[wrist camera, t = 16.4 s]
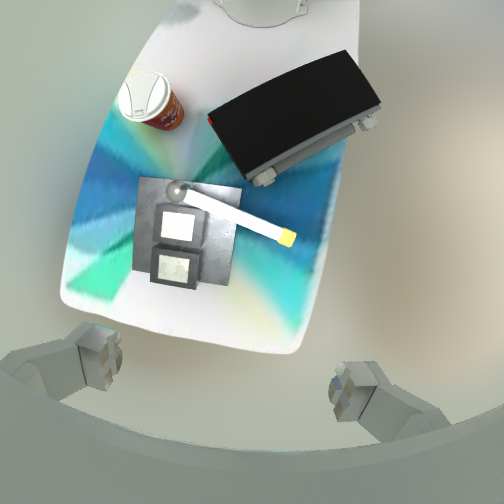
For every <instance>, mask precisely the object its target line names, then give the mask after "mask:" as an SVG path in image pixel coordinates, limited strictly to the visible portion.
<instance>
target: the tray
mask: <svg viewBox="0 0 504 504" xmlns="http://www.w3.org/2000/svg"><path fill="white" fill-rule="evenodd" d="M171 181H174V180H171V179H161V178H151V177H140V178H139V186H138V194H137V203H136V214H135V226H134V241H133V264H132V270H136V271H141V272H147V273H150V282H154V283H159V284H165V285H170V286H176V287H182V288H187V289H193V290H196V288H197V286H198V284H199V282H205V283H212V284H218V285H224V286H228V280H229V273H230V266H231V259H232V252H233V245H234V238H235V232H236V225H237V223H235V222H233V221H230V220H228V219H225V218H223V217H221V216H218V215H216V214H213V213H211V212H208V211H206V210H204V209H201V208H199V207H196V206H194V205H191V204H189V203H186V202H184V201H182V202H179V203H173V202H171V201H169V200H168V199H167V197H166V195H165V189H166V186H167V185H168V184H169V183H170V182H171ZM184 182H186V183H187V184H188V185H189V187H190V189H191V190H194V191H196V192H199V193H201V194H204V195H206V196H209V197H211V198H214V199H216V200H219V201H221V202H223V203H226V204H228V205H231V206H233V207H235V208H238V209H239V206H240V199H241V193H242V189H241V188H234V187H227V186H220V185H212V184H205V183H197V182H188V181H184Z"/></svg>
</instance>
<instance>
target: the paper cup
mask: <svg viewBox="0 0 504 504" xmlns="http://www.w3.org/2000/svg"><path fill="white" fill-rule="evenodd" d="M118 102H119V108H120V111H121V113H122V114H123V115H124V116H125V117H126V118H127V119H129V120H131V121H135V122H142V123H145V124H147V125H150V126H153V127H155V128H158V129H161V130H172V129H174V128H176V127H177V126H178V125H179V124H180V123H181V122H182V119H183V109H182V107H181V105H180V103H179V101H178V100H177V98H176V96H175V95H174V93H173V92H172V90H171V87H170V83H169V81H168V79H167V78H166V77H165V76H164V75H163V74H161V73H159V72H155V71H151V70H147V71H142V72H139V73H137V74H135V75H133V76H132V77H131V78H129V79H128V80H127V81H126V82H125V83H124V84H123V86H122V88H121V90H120V92H119V97H118Z"/></svg>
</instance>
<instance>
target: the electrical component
mask: <svg viewBox="0 0 504 504" xmlns="http://www.w3.org/2000/svg"><path fill="white" fill-rule="evenodd" d="M379 103H381V102H380V100H379V98H378V97H377V95H376V93H375V92H374V90H373V89H372V87H371V85H370V84H369V82H368V81H367V79H366V78H365V76H364V75H363V73H362V72H361V70H360V69H359V67H358V66H357V65H356V63H355V62H354V60H353V59H352V58H351V56H350V55H349V54H348V52H347V51H346V50H343V51H340V52H337V53H334V54H331V55H329V56H326V57H323V58H320V59H318V60H315V61H313V62H310V63H308V64H305V65H303V66H301V67H298V68H296V69H293V70H291V71H289V72H287V73H284V74H282V75H280V76H278V77H276V78H274V79H271V80H269V81H267V82H265V83H263V84H261V85H259V86H257V87H255V88H253V89H251V90H249V91H247V92H245V93H244V94H242V95H240V96H238V97H236V98H234V99H233V100H231V101H229V102H227V103H225V104H224V105H222V106H220V107H218V108H217V109H215V110H213V111H212V112H210V113H209V114H207V115H208V117H209V118H208V119H207V120H208V121H209V123H210V124H211V126H212V128H213V129H214V131H215V132H216V134H217V135H218V137H219V139H220V140H221V142H222V144H223V145H224V147H225V149H226V150H227V152H228V154H229V155H230V157H231V158H232V160H233V162H234V163H235V165H236V166H237V168H238V170H239V171H240V173H241V174H242V176H243V178H244V179H246V180H247V181H250V180H253V181H252V182H253V184H254V186H255V187H257V186H261V185H264V187H266V186H268V185H269V184H271V183H273V182H274V181H275V179H274V178H275V177H276V175H278V174H280V173H282V172H283V171H285V170H287V169H289V168H290V167H292V166H294V165H296V164H298V163H299V162H301V161H303V160H305V159H307V158H308V157H310V156H312V155H314V154H316V153H317V152H319V151H321V150H323V149H325V148H327V147H330V146H332V145H334V143H336V142H338V141H340V140H342V139H344V138H346V137H348V136H350V135H351V134H353V133H355V128H354V126H353V124H352V123H354V122H355V121H358V122H359V123H358V125H359V126H360V128H361V130H362V131H365V130H367V131H368V130H370V129H372V128H374V127H375V125H377V124H378V122H377V120H376V118H375V117H374V116H372V115H371V114H372V113H374V112H375V111H377V110H379V109H381V107H380V105H379Z"/></svg>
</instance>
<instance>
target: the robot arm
mask: <svg viewBox="0 0 504 504" xmlns="http://www.w3.org/2000/svg"><path fill="white" fill-rule="evenodd" d="M213 2H214V3H215V4H217V5H218V6H220V7H222V8H223V9H224V10H225V12H226V13H227V14H228V15H229V16H230V17H231V18H232V19H233V20H235V21H237V22H239V23H241V24H244V25H247V26H252V27H272V26H277V25H280V24H283V23H285V22H287V21H288V20H290V19H291V18H293V17H295V16H300V15H304V14H306V13H307V10H308V8H307V2H306V0H213ZM300 5H301V6H300ZM120 342H121V337H120V333H119V331H116V330H113V329H110V328H106V327H103V326H100V325H96V324H93V323H90V322H86V321H85V322H82V323H81V324H80V325H78V327H76V328H75V329H74V330H73V331H72V332H71V333H70V334H69V335H68V336H67V337H66V338H65V339H64V340H61V339H59V340H55V341H51V342H47V343H43V344H39V345H35V346H31V347H27V348H23V349H19V350H14V351H11V352H10V353H9V354H7V355H6V356H5V357H4V358H3V359H2V360H1V361H0V504H504V404H503V405H500V406H498V407H496V408H494V409H492V410H490V411H487V412H485V413H483V414H480V415H478V416H475V417H473V418H470V419H468V420H465V421H462V422H459V423H456V424H454V425H451V424H450V423H449V421H448V420H447V418H446V417H445V416H444V414H443V413H442V412H441V410H440V409H439V408H437V407H435V406H434V405H432V404H430V403H428V402H426V401H424V400H422V399H420V398H418V397H417V396H414V395H413V394H411V393H409V392H407V391H406V390H404V389H402V388H400V387H398V386H396V385H392V384H391V383H390V381H389V380H388V378H387V377H386V375H385V374H384V373H383V371H382V369H381V368H380V367H379V365H378V364H377V362H375V361H367V362H366V361H365V362H339V364H338V365H337V367H336V374H337V376H335V377H334V378H333V379H332V380H331V383H330V385H329V391H328V394H329V399H330V402H331V403H332V404H334V405H335V408H334V410H333V411H334V413H335V416H336V419H337V422H350V421H358V423H359V424H360V425H362V426H363V427H364V428H365V429H366V430H367V431H368V432H370V433H371V434H372V435H373V436H374V437H375V438H376V439H378V440H379V441H380V442H381V443H378V444H372V445H366V446H358V447H350V448H341V449H329V450H313V451H312V450H311V451H266V450H265V451H264V450H247V449H235V448H225V447H217V446H209V445H203V444H197V443H191V442H185V441H180V440H175V439H170V438H166V437H161V436H157V435H153V434H149V433H145V432H141V431H138V430H134V429H131V428H127V427H124V426H121V425H118V424H115V423H111V422H109V421H106V420H103V419H100V418H97V417H95V416H92V415H89V414H87V413H84V412H82V411H79V410H77V409H75V408H72V407H70V406H68V405H65V404H63V403H61V402H59V401H60V400H62V399H64V398H66V397H68V396H69V395H71V394H73V393H75V392H77V391H79V390H81V389H82V388H85V387H86V385H87V386H90V387H93V388H96V389H99V390H102V391H107V390H108V388H109V386H110V385H111V383H112V382H113V379H112V376H113V375H115V374H117V373H118V371H119V370H120V367H121V364H122V350H121V349H120V347H119V346H118V345H119V343H120Z"/></svg>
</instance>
